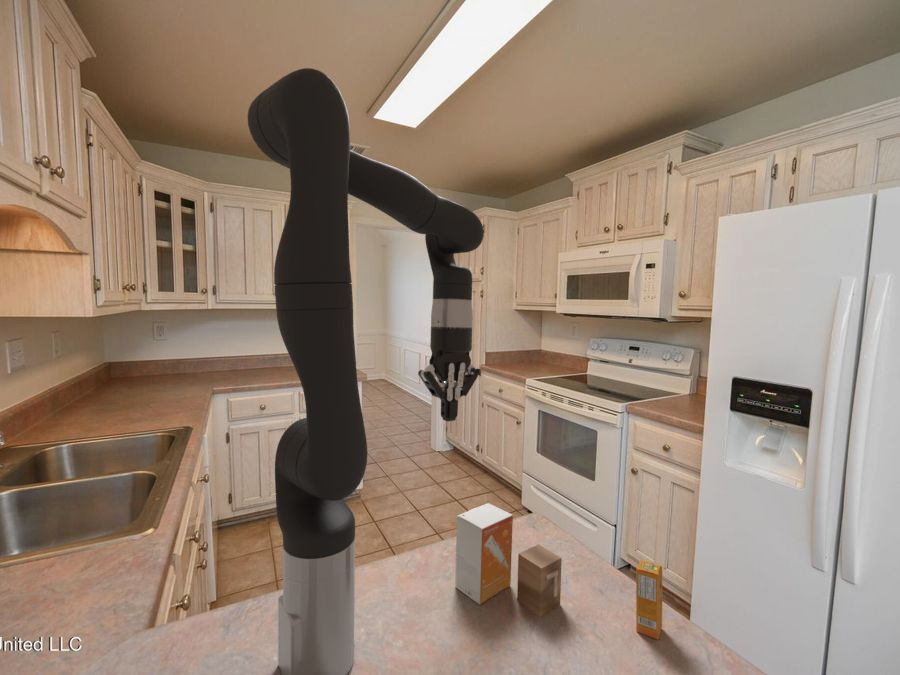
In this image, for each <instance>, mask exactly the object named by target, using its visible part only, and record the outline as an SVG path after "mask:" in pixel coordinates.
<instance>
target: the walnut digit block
mask: <svg viewBox="0 0 900 675" xmlns="http://www.w3.org/2000/svg"><path fill="white" fill-rule="evenodd" d="M517 557H518V560H517V589H516V590H517V594H516V595H517V596H516V598H517V601H518V602H520V603H521V604H522V605H523V606H525V607H526V608H527V609H529V611H531V612H532V613H534V614H535V615H536V616H538V617H539V618H541V617H543V616H544V615H546V614H548V613H550V612H551V611H553V610H554V609H556V608H557V607H559V606H560V605H561V592H562V591H561V590H562V561H563V560H562V557H561V556H559V555H558V554H555V553H554V552H553V551H550V550H549V549H547V548H546V547H544V546H542V545H541V544H537V545H534V546H532V547H530V548H528V549H526V550H523V551H521V552H519V553H518V556H517Z"/></svg>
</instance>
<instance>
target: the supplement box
mask: <svg viewBox="0 0 900 675" xmlns="http://www.w3.org/2000/svg"><path fill="white" fill-rule="evenodd" d="M635 572H636V573H635V574H636V579H635V580H636V582H635V584H636V589H635V590H636V598H635V599H636V610H635V611H636V615H635V616H636V617H635V618H636V622H635V624H636V628H635V629H636V632H637V633H639V634H642V635H644V636H647V637H650V638H653V639H655V640H659V639H660V636H661V632H662V628H663V566H662V565H661V564H658V563H654V562H651V561H649V560H643V559H640V560H639V563H638V564H637V567H636V571H635Z"/></svg>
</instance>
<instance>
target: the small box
mask: <svg viewBox="0 0 900 675" xmlns="http://www.w3.org/2000/svg"><path fill="white" fill-rule="evenodd" d="M513 520H514V515H513V514H512V513H510V512H507V511H505V510H503V509H501V508H500V507H497V506H495V505H494V504H492V503H490V502H487V503H485V504H482V505H479V506H477V507H475V508H471V509H469V510H466V511H465V512H463V513H460V514H458V515H456V536H455V537H456V538H455V539H456V542H455V543H456V545H455V546H456V547H455V578H454V580H455V581H454V582H455V583H454V585H455V586H454V587H455V588H456V589H457V590H459V591H460V592H461V593H463V594H464V595H466V596H467V597H468V598H470V599H471V600H472V601H474V602H475V603H476V604H478V605H483V604H484V603H485V602H486V601H487V600H489V599H491V598H493V597H494V596H495V595H497V594H499V593H501V592H502V591H503V590H506V589H508V588H509V587H510V586H511V583H512V582H511V580H512V579H511V578H512V555H513V554H512V548H513V525H514V524H513V522H514V521H513Z"/></svg>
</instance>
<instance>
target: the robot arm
mask: <svg viewBox="0 0 900 675" xmlns="http://www.w3.org/2000/svg"><path fill="white" fill-rule="evenodd" d="M349 116H350V115H349V113H348V107H347V104H346V102H345V98H344V97H343V94H342V93H341V91H340V89H339V87H338V86H337V84H336V83H335V82H334V80H333V79H332V78H331V77H329V76H328V75H327V74H326V73H324V72H323V71H321V70H320V69H316V68H310V67H307V68H305V67H304V68H300V69H297V70H294V71H293V70H292V72H289V73H288V74H286V75H284V76H282V77H281V78H280V79H278V80H277V81H276V82H274V83H272V84H271V85H270V86H269V87H267V88H266V89H264V90H263V91H262V92H260V93H259V94H258V95H257V96H256V97H255V98H254V99H253V101H252V102H251V103H250V106H249V108H248V110H247V125H248V129H249V133H250V136H251V137H252V140H253V141H254V143H255V144H256V146H257V148H259V150H261V152H262V153H264V154H263V155H265V156H267V157H268V158H269V159H271V161H274V162H275V163H277V164H279V165H281V166H283V167H285V168H287V169H289V176H290V196H289V204H288V211H287V215H286V219H285V221H284V226H283V229H282V233H281V235H280V239H279V242H278V247H277V251H276V256H275V260H274V267H273V270H274V271H273V275H274V276H273V279H274V281H273V282H274V298H275V311H276V318H277V324H278V329H279V332H280V333H279V334H280V335H281V338H282V341H283V343H284V346H285V349H286V351H287V353H288V355H289V357H290V360H291V362H292V365H293V367H294V369H295V371H296V372H295V373H296V375H297V377H298V378H299V381H300V385H301V388H302V391H303V395H304V396H303V397H304V403H305V414H306V416H305V417H303V418H301V419H298V420H296V421H295V422H293V423H291V425H289V426H288V427H287V428H286V429H285V430H284V432H283V433H282V436H281V437H280V439H279V441H278V444H277V447H276V451H275V459H274V482H275V483H274V484H275V487H274V488H275V510H276V511H275V512H276V517H277V518H276V519H277V523H278V527H279V529H280V531H281V534H282V595H280V596H279V597H278V602H277V603H278V605H277V608H278V613H277V614H278V615H277V616H278V617H277V618H278V621H277V622H278V624H277V625H278V626H277V627H278V634H277V635H278V636H277V638H278V640H277V641H278V645H277V646H278V648H277V649H278V650H277V651H278V652H277V655H278V656H277V657H278V660H277V662H278V663H277V664H278V668H279V670H280V672H281V675H348V673H349V672H350V670H351V669H352V667H353V664H354V660H355V640H356V639H355V602H356V600H355V599H356V598H355V596H356V594H355V588H356V586H355V584H356V582H355V581H356V580H355V579H356V576H355V575H356V574H355V572H356V567H355V566H356V563H355V562H356V519H355V515H354V513H353V512H352V511H353V510H352V509H351V508H350V507H349V505H348V504H347V503H346V501H345V499H346V498H348V497H349V496H350V495H352V494H353V493H354V492H355V491H356V490H357V488H358V487H359V486H360V484H361V482H362V480H363V478H364V476H365V473H366V470H367V463H368V442H367V435H366V428H365V422H364V416H363V411H362V404H361V398H360V392H359V384H358V372H357V358H356V357H357V356H356V345H355V333H354V331H355V330H354V328H355V327H354V298H353V284H352V283H353V282H352V272H351V260H350V258H351V257H350V256H351V255H350V233H349V232H350V230H349V203H348V202H349V199H348V197H349V195H350V196H352V197H354V198H356V199H358V200H360V201H362V202H364V203H366V204H368V205H370V206H371V207H374V208H375V209H377V210H378V211H380V212H382V213H384V214H385V215H387V216H389V217H390V218H392V219H394V220H396V221H397V222H398V223H400V224H401V225H403V226H405V228H408V229H409V230H411V231H413V232H414V233H417V234H420V235H425V236H424V237H425V239H424V240H425V247H426V251H427V255H428V259H429V263H430V264H429V265H430V269H431V272H432V277H433V281H432V282H433V285H432V305H431V313H430V347H429V348H430V350H431V351H430V352H431V355H430V358H429V362H428V363H429V364H428V365H427V367H425V368H424V369H419V370H418V374H417V375H418V376H419V378H420V380H421V381H422V383H423V384H424V385H425V388H426V389H427V390H428V391H429V393H430V394H431V396H432V397H435V398H438V399H440V416H441V418H442V420H443V421H446V422H447V423H448V422H454V421H456V420H457V417H458V414H459V413H458V412H459V410H458V409H459V400H460V398H462V397H466V396H467V395H468V394H469V392H470V390H471V389H472V387H473V385H474V384H475V382H476V380H477V379H478V377H479V375H480V373H481V369H480V368H477V367H475V366H474V365H473V364H472V359H471V357H470V352H471V351H472V348H473V320H474V319H473V318H474V316H473V315H474V314H473V303H472V300H473V274H472V273H473V272H471V270H470V269H469V268H467V267H465V266H461V265H457V263H456V260H455V257H454V256H455V255H454V254H456V255H457V254H464V253H471V252H473V251H475V250H476V249H478V248H479V247H480V245H482V242H483V240H484V237H485V236H484V234H485V232H484V226H483V223H482V221H481V220H480V218H479V217H478V215H477V214H476V213H475V212H473V211H472V210H471V209H469V208H467V207H466V206H464V205H462V204H459V203H457V202H454V201H452V200H450V199H448V198H445V197H442V196H439V195H438V194H436V193H435V192H434V191H432V189H430V188H429V187H427V185H425V184H424V183H422V182H421V181H420V180H419V179H417V178H416V177H414V176H413V175H411V174H410V173H407V172H405V171H404V170H401V169H399V168H398V167H394V166H392V165H389V164H386V163H385V162H384V163H383V162H380V161H378V160H374V159H372V158H370V157H367V156H364V155H361V154H360V153H358V152H356V151H354V150H352V149H351V123H350V122H351V121H350V117H349Z"/></svg>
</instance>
